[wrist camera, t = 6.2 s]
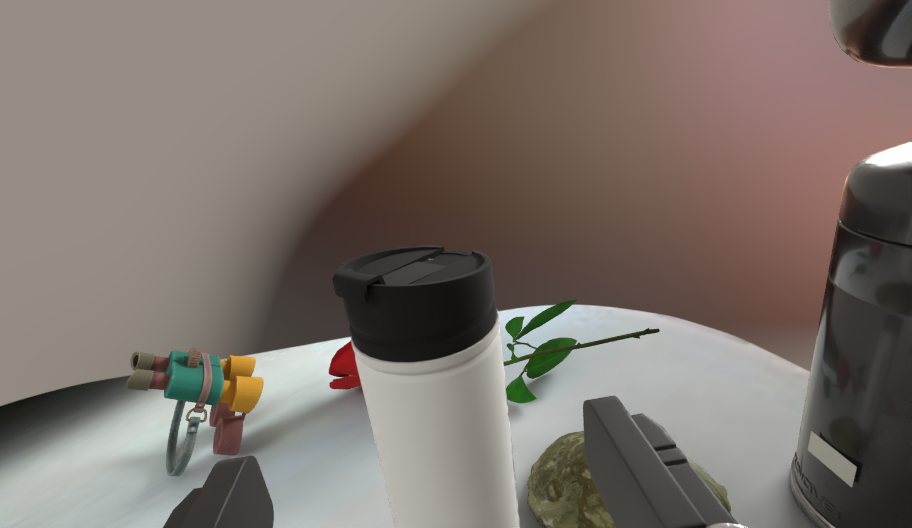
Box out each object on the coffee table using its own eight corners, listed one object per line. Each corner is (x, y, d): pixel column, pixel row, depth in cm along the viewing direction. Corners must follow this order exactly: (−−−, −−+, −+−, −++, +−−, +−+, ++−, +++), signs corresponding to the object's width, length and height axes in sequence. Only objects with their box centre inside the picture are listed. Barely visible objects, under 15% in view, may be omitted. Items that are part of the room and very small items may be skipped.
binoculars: (230, 497, 36) (272, 382, 35) (87, 502, 30) (134, 367, 30) (219, 433, 43) (254, 338, 43) (104, 428, 38) (142, 320, 37)
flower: (642, 246, 38) (315, 304, 42) (686, 341, 32) (296, 398, 36) (633, 307, 45) (351, 352, 49) (667, 395, 39) (341, 439, 42)
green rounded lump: (543, 413, 34) (640, 354, 28) (617, 468, 35) (729, 423, 28) (506, 548, 27) (628, 510, 20) (601, 617, 27) (752, 602, 21)
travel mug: (386, 609, 24) (293, 268, 17) (460, 518, 29) (410, 221, 22) (478, 692, 20) (407, 296, 13) (547, 571, 25) (521, 231, 18)
